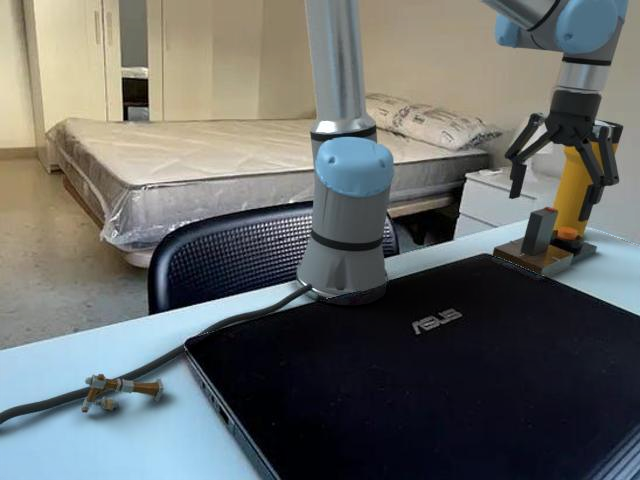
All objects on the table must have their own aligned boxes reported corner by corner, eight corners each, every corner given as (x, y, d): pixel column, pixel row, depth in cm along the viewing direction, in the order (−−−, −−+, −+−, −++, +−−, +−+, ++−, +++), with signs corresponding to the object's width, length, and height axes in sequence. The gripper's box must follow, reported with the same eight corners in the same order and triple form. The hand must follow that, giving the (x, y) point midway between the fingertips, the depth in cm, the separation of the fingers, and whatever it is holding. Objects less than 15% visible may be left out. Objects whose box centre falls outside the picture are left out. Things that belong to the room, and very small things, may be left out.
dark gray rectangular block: (531, 256, 94) (543, 215, 91) (520, 251, 95) (531, 210, 92) (547, 249, 97) (559, 209, 94) (536, 245, 99) (547, 206, 96)
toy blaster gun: (71, 404, 52) (87, 368, 51) (146, 409, 57) (161, 376, 56) (73, 416, 51) (89, 378, 50) (149, 420, 55) (165, 386, 55)
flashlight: (566, 114, 111) (613, 119, 109) (536, 223, 121) (579, 228, 120) (580, 121, 101) (632, 127, 100) (547, 238, 112) (594, 244, 110)
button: (570, 242, 102) (573, 234, 101) (553, 236, 104) (556, 228, 104) (578, 239, 104) (581, 231, 103) (562, 233, 107) (564, 225, 106)
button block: (570, 265, 99) (575, 249, 98) (529, 248, 105) (533, 233, 104) (595, 253, 106) (600, 238, 104) (554, 238, 112) (558, 224, 111)
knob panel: (538, 282, 90) (543, 267, 89) (490, 261, 98) (493, 246, 96) (570, 267, 98) (574, 253, 96) (522, 248, 105) (526, 235, 104)
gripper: (668, 101, 78) (625, 226, 87) (523, 81, 96) (499, 187, 104) (650, 102, 74) (607, 235, 82) (501, 81, 91) (478, 192, 99)
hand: (546, 208), depth 93 cm, fingers open, 13 cm apart
